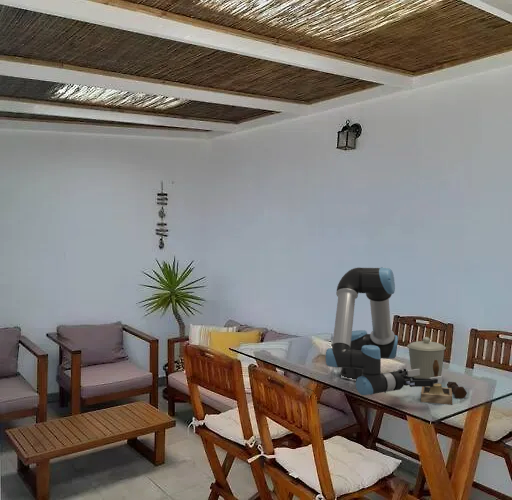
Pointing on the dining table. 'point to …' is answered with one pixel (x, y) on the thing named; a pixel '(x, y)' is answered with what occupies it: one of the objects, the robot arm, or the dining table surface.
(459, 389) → the bolt
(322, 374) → the dining table surface
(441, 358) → the canister
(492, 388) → the dining table surface
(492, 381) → the dining table surface
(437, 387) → the hand bell
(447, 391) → the square tray
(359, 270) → the robot arm
